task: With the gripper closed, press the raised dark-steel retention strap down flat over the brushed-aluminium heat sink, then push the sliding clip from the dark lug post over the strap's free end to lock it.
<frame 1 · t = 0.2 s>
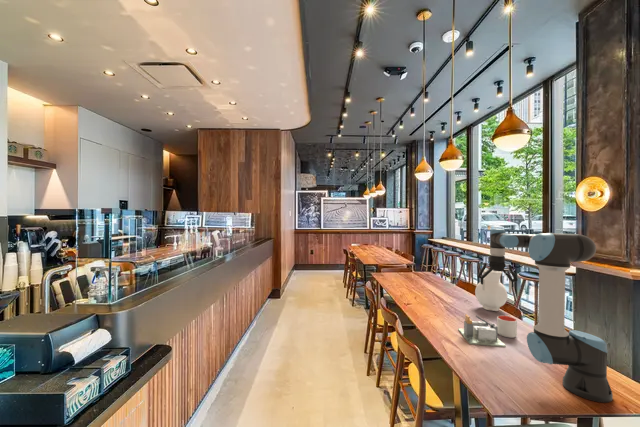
hand: (496, 291, 170), 27 cm above the table, fingers open, 13 cm apart
strap: (485, 321, 169), point 10 cm above the table, hinge at 30.0°
cup: (506, 335, 174), on the table
vase: (491, 309, 222), on the table
clip: (468, 319, 170), point 11 cm above the table, slide at 0.0 cm
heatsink: (480, 337, 169), on the table
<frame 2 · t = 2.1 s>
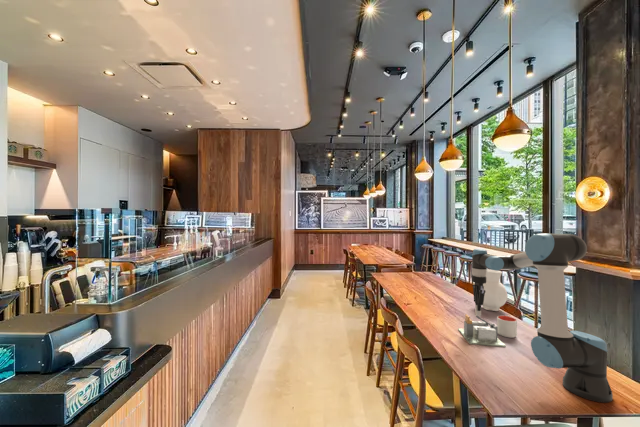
hand: (478, 315, 170), 13 cm above the table, fingers closed
strap: (485, 321, 169), point 10 cm above the table, hinge at 30.0°, touching gripper
everything else where it was.
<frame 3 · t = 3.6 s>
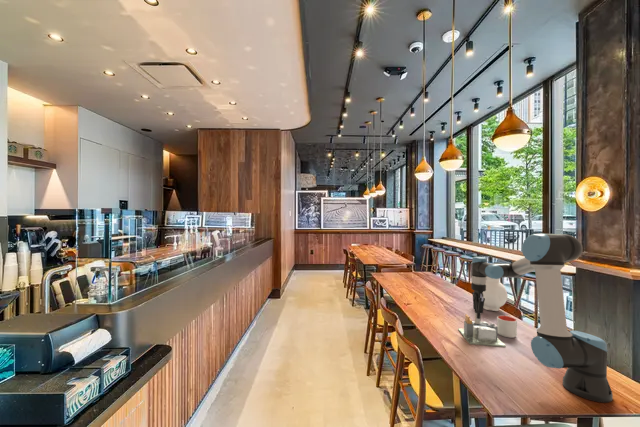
hand: (477, 323, 170), 8 cm above the table, fingers closed
strap: (484, 325, 169), point 8 cm above the table, hinge at 6.0°, touching gripper
everything else where it was.
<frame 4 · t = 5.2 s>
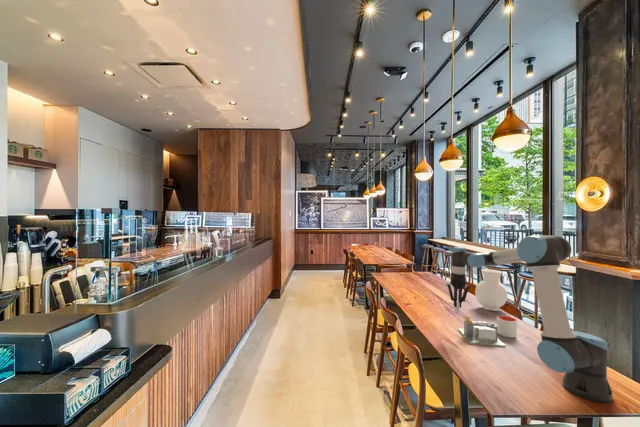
hand: (457, 312, 172), 14 cm above the table, fingers closed
strap: (484, 325, 169), point 8 cm above the table, hinge at 5.8°
everything else where it was.
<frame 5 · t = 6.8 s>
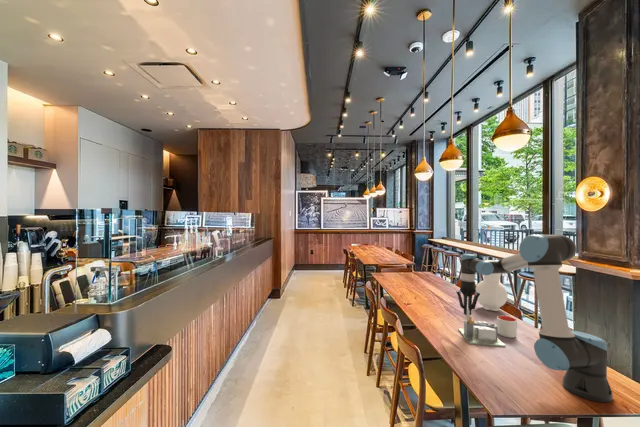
hand: (467, 320, 170), 10 cm above the table, fingers closed
clip: (470, 319, 170), point 11 cm above the table, slide at 1.1 cm, touching gripper
everything else where it was.
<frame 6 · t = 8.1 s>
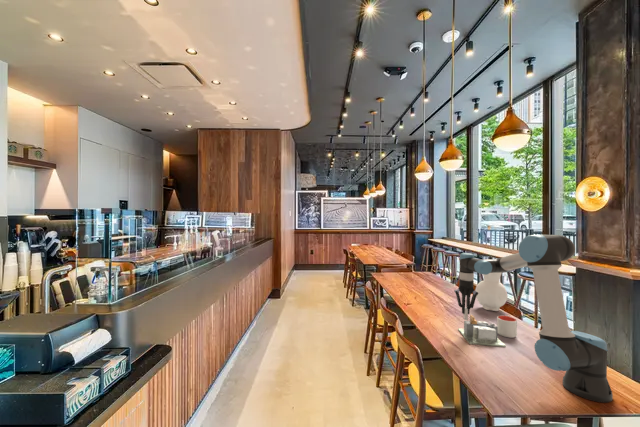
hand: (465, 319, 171), 10 cm above the table, fingers closed
clip: (473, 319, 170), point 11 cm above the table, slide at 2.7 cm
everything else where it was.
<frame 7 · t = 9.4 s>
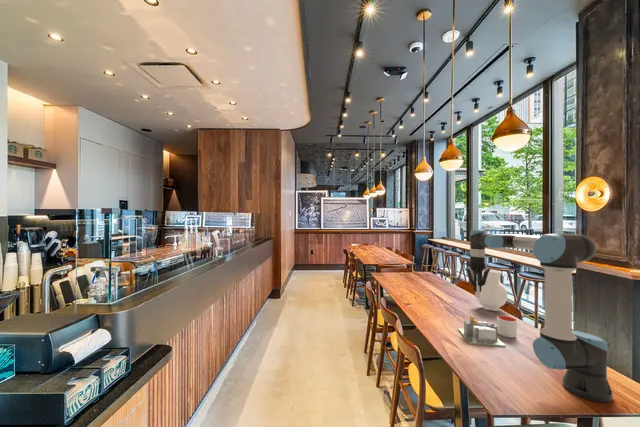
hand: (477, 297, 166), 25 cm above the table, fingers closed
nothing on the table moved.
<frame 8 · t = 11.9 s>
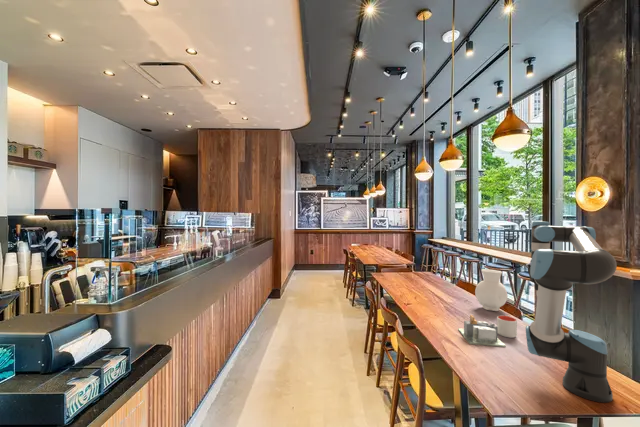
hand: (539, 296, 149), 30 cm above the table, fingers closed
nothing on the table moved.
at the end: strap at +6° (first picture: +30°); clip slide at 2.7 cm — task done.
